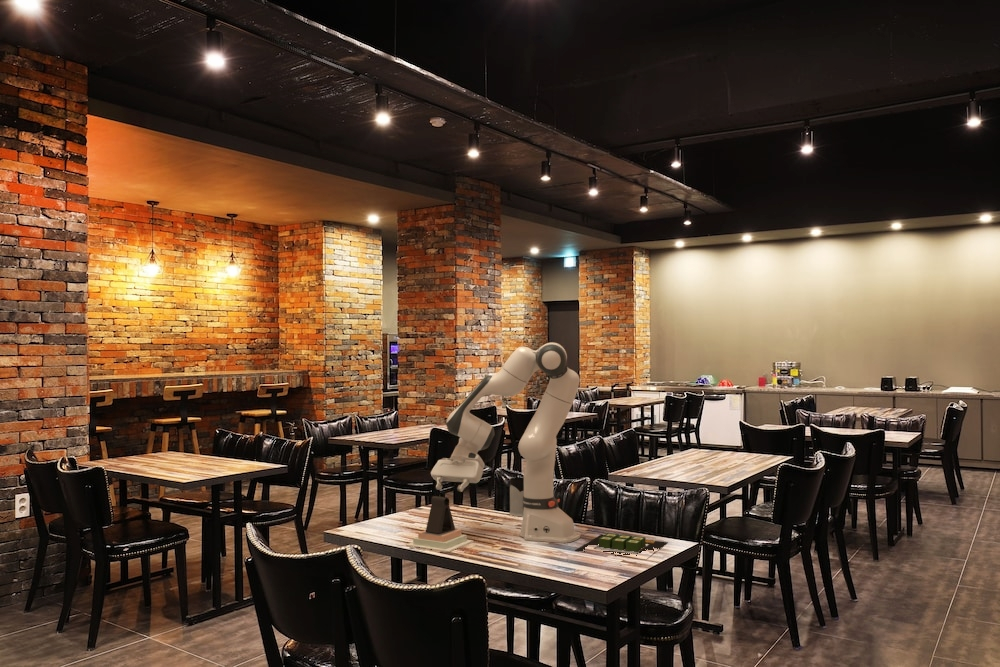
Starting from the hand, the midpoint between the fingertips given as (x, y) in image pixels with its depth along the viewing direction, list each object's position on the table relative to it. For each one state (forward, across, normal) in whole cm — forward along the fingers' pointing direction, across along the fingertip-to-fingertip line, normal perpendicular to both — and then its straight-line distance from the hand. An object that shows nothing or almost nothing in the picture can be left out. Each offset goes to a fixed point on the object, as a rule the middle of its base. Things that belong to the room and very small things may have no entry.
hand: (448, 489), depth 269 cm
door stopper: (+15, +1, +4) cm, 15 cm away
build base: (+18, +1, +7) cm, 19 cm away
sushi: (0, +59, +27) cm, 65 cm away
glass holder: (-23, +4, +49) cm, 54 cm away
